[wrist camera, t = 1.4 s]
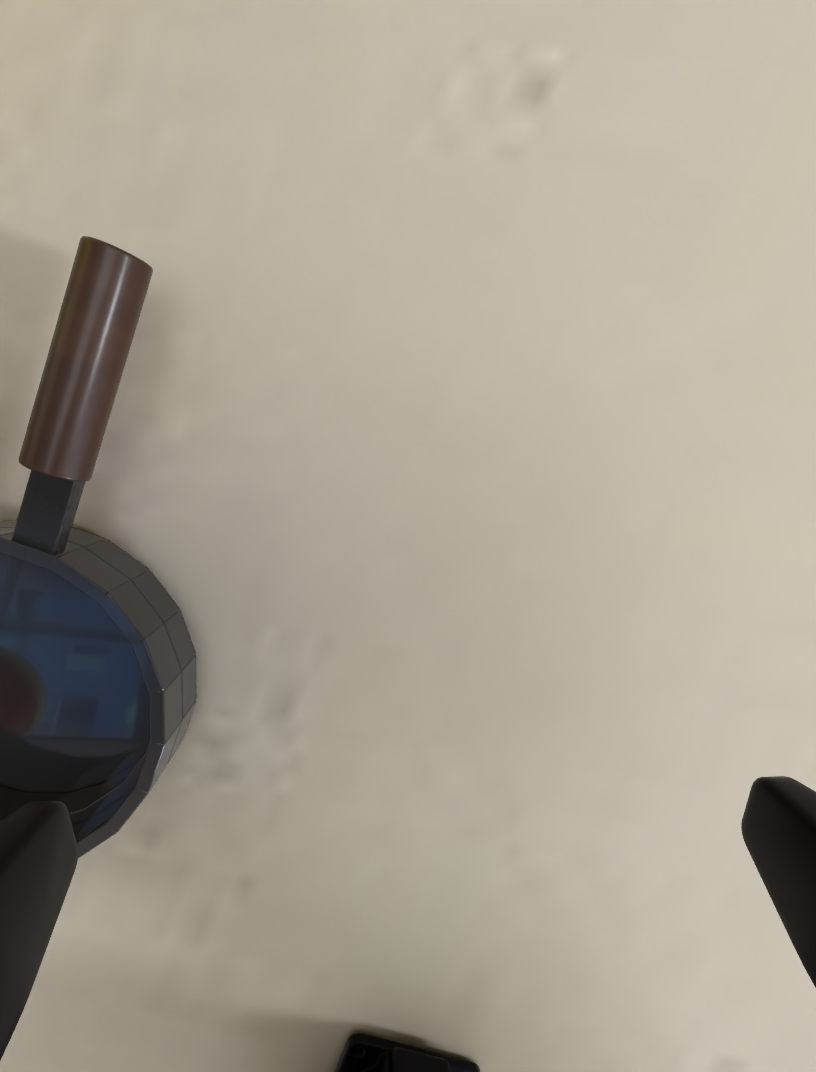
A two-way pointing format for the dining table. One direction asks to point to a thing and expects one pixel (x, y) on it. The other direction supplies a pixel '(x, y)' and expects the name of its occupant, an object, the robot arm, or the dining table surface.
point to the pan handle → (78, 387)
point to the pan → (88, 680)
